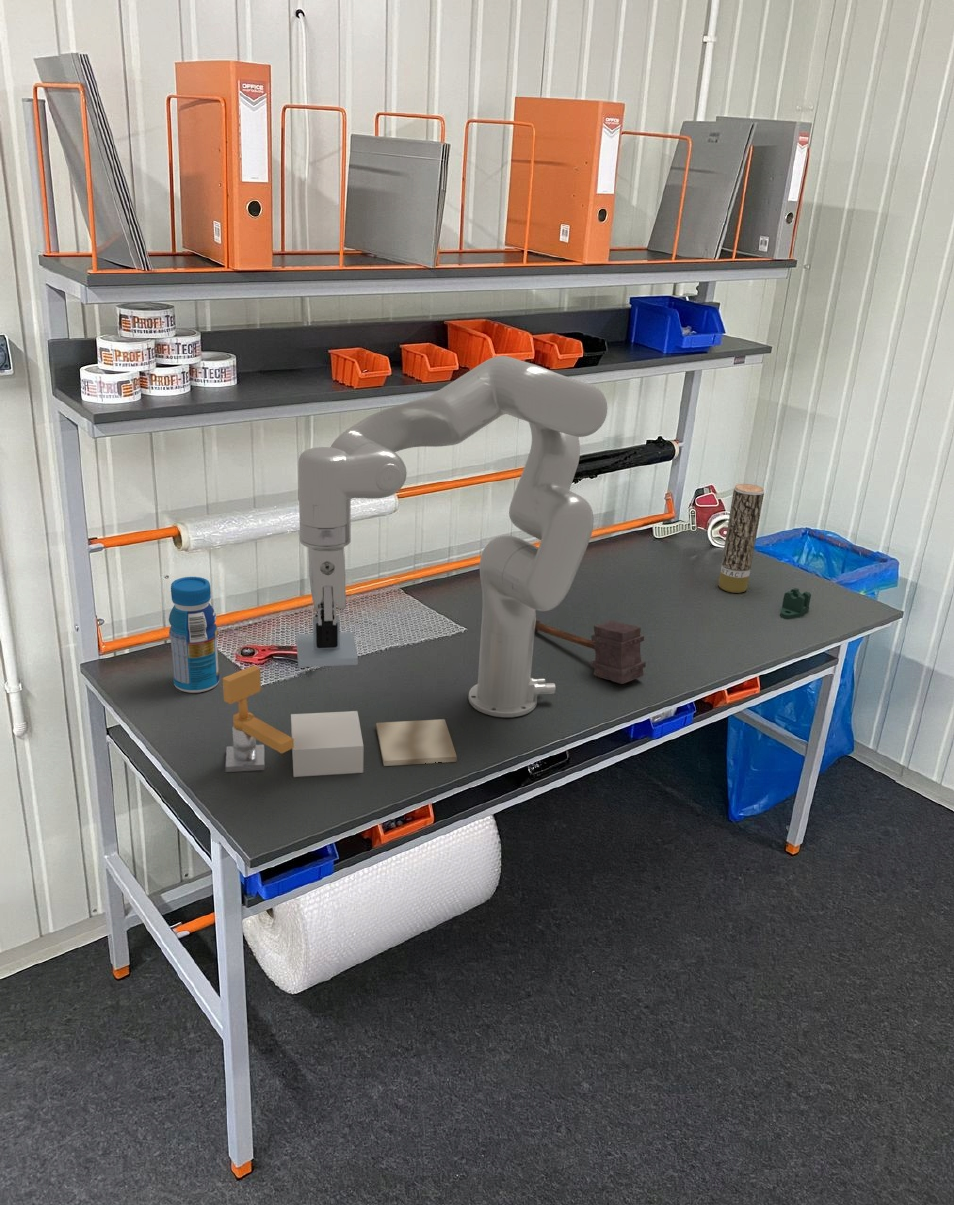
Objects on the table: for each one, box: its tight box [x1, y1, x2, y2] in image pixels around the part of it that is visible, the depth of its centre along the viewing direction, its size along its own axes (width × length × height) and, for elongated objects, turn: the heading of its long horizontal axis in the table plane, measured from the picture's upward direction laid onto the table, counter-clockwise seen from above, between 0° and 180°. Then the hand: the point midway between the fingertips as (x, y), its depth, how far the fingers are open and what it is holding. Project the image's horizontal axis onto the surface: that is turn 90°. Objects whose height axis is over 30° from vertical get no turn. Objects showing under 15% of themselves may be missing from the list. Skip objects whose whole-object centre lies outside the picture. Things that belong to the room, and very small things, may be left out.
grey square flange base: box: [225, 724, 265, 773], centre depth 163 cm, size 6×6×6 cm
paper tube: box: [718, 483, 765, 594], centre depth 238 cm, size 7×7×25 cm
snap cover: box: [295, 615, 359, 668], centre depth 158 cm, size 9×9×6 cm
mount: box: [779, 587, 812, 620], centre depth 231 cm, size 11×4×5 cm, turn 137°
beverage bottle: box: [168, 576, 220, 694], centre depth 183 cm, size 8×8×20 cm
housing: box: [290, 710, 364, 778], centre depth 166 cm, size 11×11×5 cm
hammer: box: [534, 618, 647, 685], centre depth 205 cm, size 7×33×10 cm, turn 39°
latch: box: [222, 664, 294, 755], centre depth 157 cm, size 12×6×9 cm, turn 50°
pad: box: [375, 718, 458, 767], centre depth 171 cm, size 12×12×1 cm
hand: (326, 641), depth 158 cm, fingers closed on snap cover
